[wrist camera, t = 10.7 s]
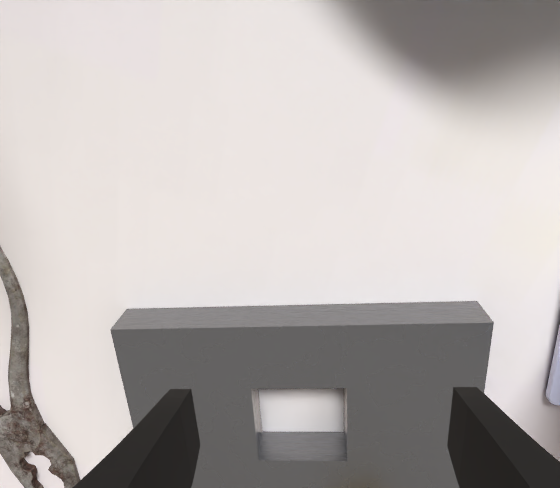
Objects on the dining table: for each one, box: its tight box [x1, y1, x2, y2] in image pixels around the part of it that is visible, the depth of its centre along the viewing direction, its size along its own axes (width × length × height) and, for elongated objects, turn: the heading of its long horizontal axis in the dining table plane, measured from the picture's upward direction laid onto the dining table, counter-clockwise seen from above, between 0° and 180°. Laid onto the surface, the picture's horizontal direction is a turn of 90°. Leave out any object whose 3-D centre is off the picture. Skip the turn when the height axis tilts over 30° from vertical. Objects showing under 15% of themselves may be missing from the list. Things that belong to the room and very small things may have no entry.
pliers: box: [0, 247, 80, 488], centre depth 24 cm, size 10×1×20 cm
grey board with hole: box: [111, 301, 494, 488], centre depth 23 cm, size 18×12×2 cm, turn 93°
